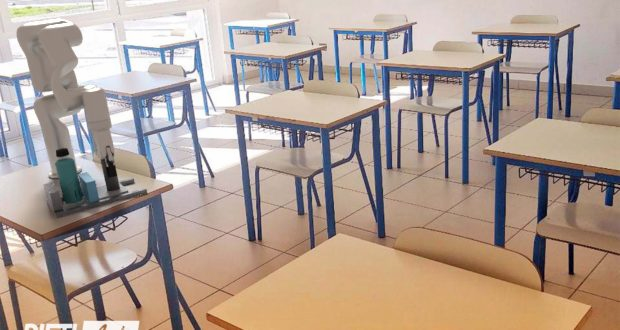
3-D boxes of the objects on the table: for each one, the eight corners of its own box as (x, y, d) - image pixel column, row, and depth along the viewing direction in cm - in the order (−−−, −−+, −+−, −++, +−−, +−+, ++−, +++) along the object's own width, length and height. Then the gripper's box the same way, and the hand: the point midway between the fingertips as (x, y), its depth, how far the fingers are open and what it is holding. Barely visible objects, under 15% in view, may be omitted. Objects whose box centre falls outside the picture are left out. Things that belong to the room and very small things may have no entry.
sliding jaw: (82, 195, 223) (74, 159, 219) (119, 185, 229) (112, 150, 225) (91, 204, 213) (82, 167, 209) (128, 194, 219) (121, 157, 215)
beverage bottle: (78, 208, 213) (65, 151, 206) (60, 208, 214) (47, 152, 208) (88, 201, 219) (76, 145, 212) (71, 201, 220) (58, 146, 214)
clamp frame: (47, 204, 220) (42, 182, 217) (133, 181, 234) (129, 161, 231) (56, 218, 206) (51, 195, 203) (147, 193, 220) (143, 171, 218)
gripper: (83, 122, 220) (93, 172, 226) (94, 131, 206) (106, 183, 212) (104, 118, 223) (114, 166, 229) (117, 126, 210) (128, 178, 215)
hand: (110, 174), depth 220 cm, fingers closed on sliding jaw, 4 cm apart
